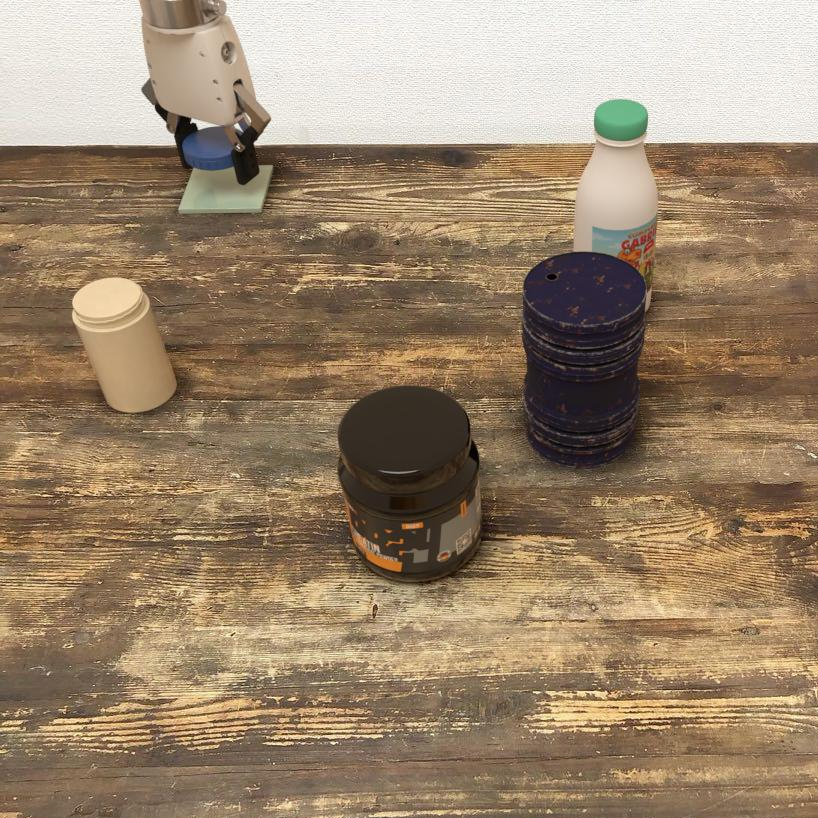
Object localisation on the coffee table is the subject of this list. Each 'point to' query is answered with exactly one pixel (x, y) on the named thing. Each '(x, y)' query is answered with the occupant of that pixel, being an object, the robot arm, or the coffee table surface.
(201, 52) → the robot arm
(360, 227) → the coffee table surface
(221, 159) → the lid
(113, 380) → the beige jar
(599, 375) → the storage jar
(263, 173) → the tile
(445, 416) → the supplement container
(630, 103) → the milk bottle
